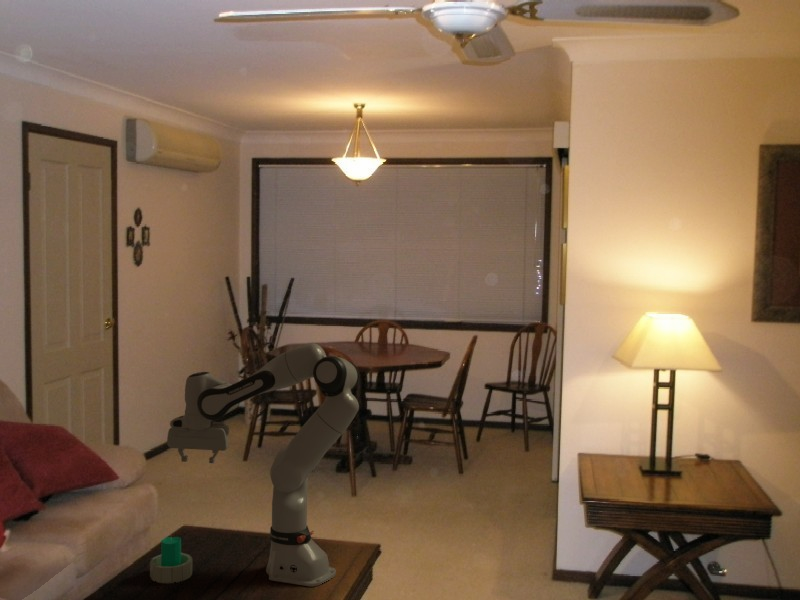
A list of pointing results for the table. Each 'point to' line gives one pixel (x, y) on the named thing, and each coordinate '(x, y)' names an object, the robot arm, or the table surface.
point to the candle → (171, 551)
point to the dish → (171, 570)
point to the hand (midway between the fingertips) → (198, 462)
